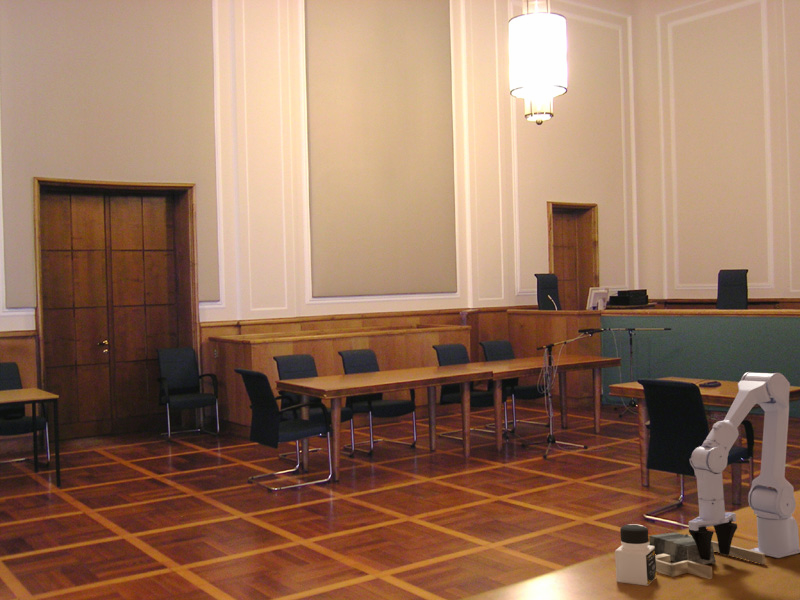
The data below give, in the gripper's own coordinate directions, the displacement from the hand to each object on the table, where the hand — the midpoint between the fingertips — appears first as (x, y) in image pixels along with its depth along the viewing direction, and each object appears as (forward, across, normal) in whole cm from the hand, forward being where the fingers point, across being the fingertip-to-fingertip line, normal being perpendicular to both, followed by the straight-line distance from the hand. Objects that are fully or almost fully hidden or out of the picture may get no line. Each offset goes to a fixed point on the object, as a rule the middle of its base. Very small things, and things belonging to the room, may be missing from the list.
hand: (715, 556), depth 193 cm
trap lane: (+2, -2, +5) cm, 6 cm away
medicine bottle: (+2, -22, +4) cm, 23 cm away
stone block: (+2, -1, +8) cm, 8 cm away
